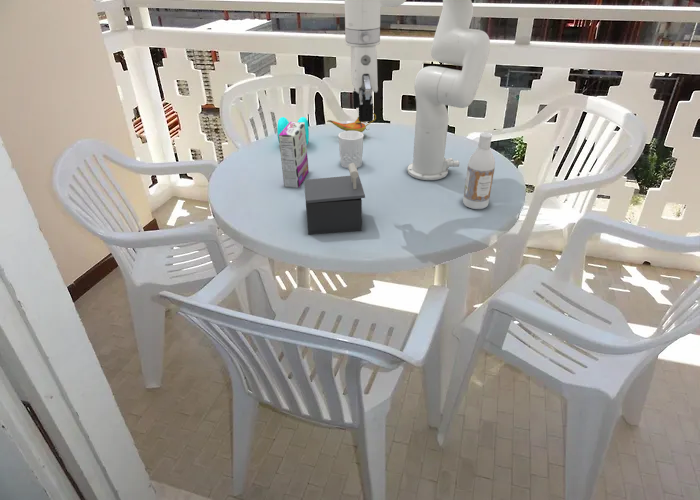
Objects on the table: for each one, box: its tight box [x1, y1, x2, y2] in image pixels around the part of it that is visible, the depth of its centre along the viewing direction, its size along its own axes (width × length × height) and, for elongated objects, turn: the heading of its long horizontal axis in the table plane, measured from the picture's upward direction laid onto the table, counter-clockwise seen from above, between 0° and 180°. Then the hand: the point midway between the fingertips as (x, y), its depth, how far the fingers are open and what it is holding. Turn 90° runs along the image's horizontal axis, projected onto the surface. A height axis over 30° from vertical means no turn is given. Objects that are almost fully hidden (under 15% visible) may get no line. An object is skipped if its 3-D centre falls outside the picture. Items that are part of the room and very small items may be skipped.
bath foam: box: [462, 132, 496, 210], centre depth 128 cm, size 7×7×20 cm
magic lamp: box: [326, 105, 377, 133], centre depth 173 cm, size 7×18×11 cm, turn 99°
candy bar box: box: [277, 121, 310, 189], centre depth 142 cm, size 11×5×16 cm, turn 168°
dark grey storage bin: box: [303, 184, 363, 235], centre depth 124 cm, size 14×12×9 cm
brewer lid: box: [303, 163, 366, 204], centre depth 120 cm, size 14×12×6 cm
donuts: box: [276, 116, 310, 146], centre depth 167 cm, size 10×10×10 cm
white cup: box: [338, 130, 364, 169], centre depth 153 cm, size 8×8×10 cm
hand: (362, 114), depth 114 cm, fingers open, 9 cm apart
